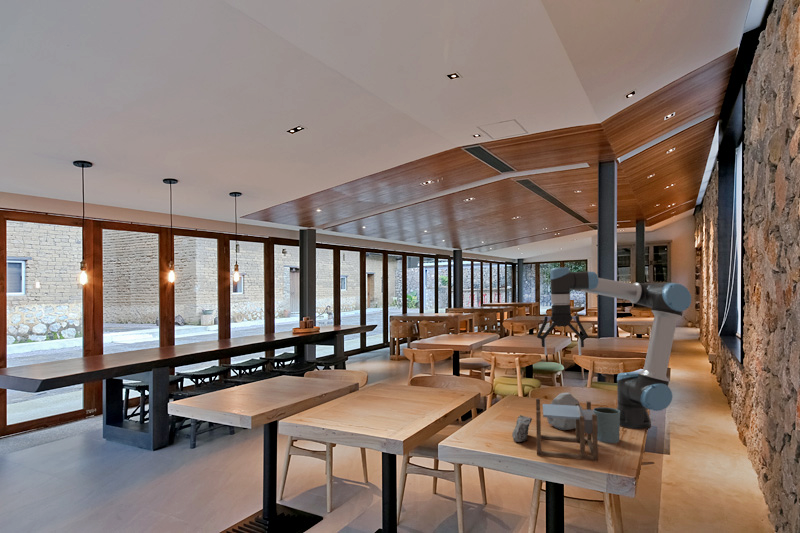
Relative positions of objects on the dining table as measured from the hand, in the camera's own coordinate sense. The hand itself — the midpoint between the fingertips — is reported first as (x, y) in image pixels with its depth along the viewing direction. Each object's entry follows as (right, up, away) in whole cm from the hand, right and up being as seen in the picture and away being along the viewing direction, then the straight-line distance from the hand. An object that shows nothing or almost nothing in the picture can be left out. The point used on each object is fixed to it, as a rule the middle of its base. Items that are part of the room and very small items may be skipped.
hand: (562, 355), depth 199 cm
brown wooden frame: (-4, -33, -15) cm, 37 cm away
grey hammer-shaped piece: (-3, -25, -15) cm, 29 cm away
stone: (+5, -34, +11) cm, 36 cm away
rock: (-18, -34, -4) cm, 39 cm away
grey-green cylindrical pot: (+16, -34, -6) cm, 38 cm away
